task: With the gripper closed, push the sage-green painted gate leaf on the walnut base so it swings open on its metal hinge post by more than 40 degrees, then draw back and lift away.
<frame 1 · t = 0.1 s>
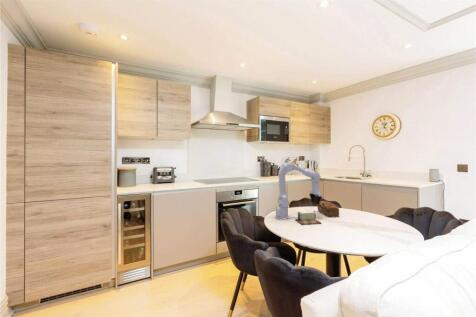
hand: (315, 203, 187), 10 cm above the table, fingers open, 7 cm apart
gate leaf: (307, 215, 173), point 4 cm above the table, hinge at 0.0°
bread: (328, 214, 192), on the table
gate frame: (299, 221, 172), on the table
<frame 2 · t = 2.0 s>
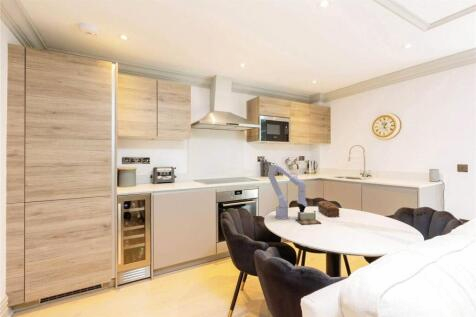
hand: (301, 213, 179), 4 cm above the table, fingers closed
nothing on the table moved.
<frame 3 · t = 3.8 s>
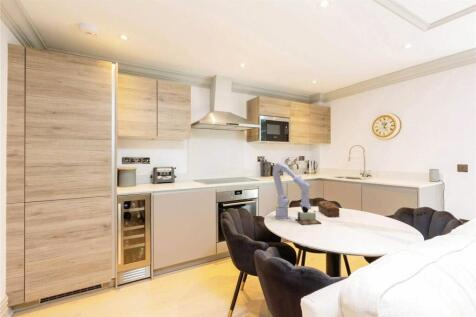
hand: (305, 216, 174), 3 cm above the table, fingers closed, pressing on gate leaf
gate leaf: (307, 215, 172), point 4 cm above the table, hinge at 2.5°, touching gripper
everything else where it was.
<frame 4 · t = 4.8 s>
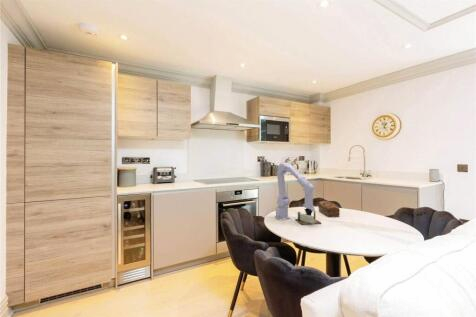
hand: (308, 218, 168), 3 cm above the table, fingers closed, pressing on gate leaf
gate leaf: (306, 218, 166), point 4 cm above the table, hinge at 62.4°, touching gripper
everything else where it was.
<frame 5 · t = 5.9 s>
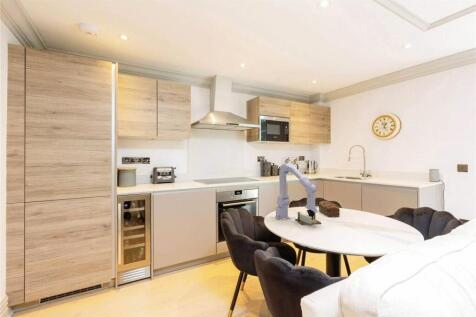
hand: (311, 220, 164), 3 cm above the table, fingers closed
gate leaf: (305, 218, 165), point 4 cm above the table, hinge at 72.6°, touching gripper
everything else where it was.
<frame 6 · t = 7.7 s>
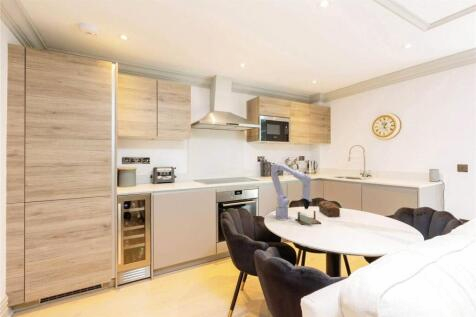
hand: (306, 208, 173), 9 cm above the table, fingers closed
gate leaf: (305, 218, 165), point 4 cm above the table, hinge at 73.5°
everything else where it was.
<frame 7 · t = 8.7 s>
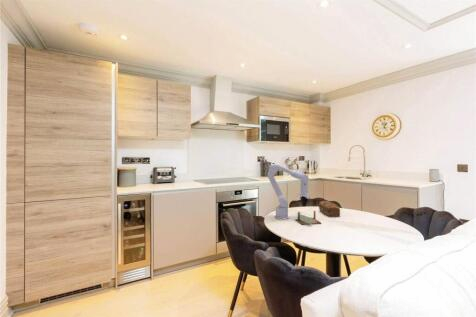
hand: (304, 206, 182), 9 cm above the table, fingers closed
nothing on the table moved.
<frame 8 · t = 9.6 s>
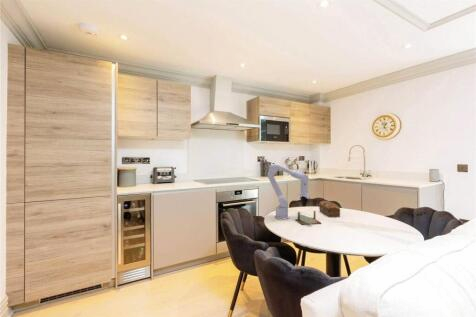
hand: (304, 206, 182), 9 cm above the table, fingers closed
at the end: gate leaf at +74° (first picture: +0°); bread moved 1.1 cm from its start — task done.
